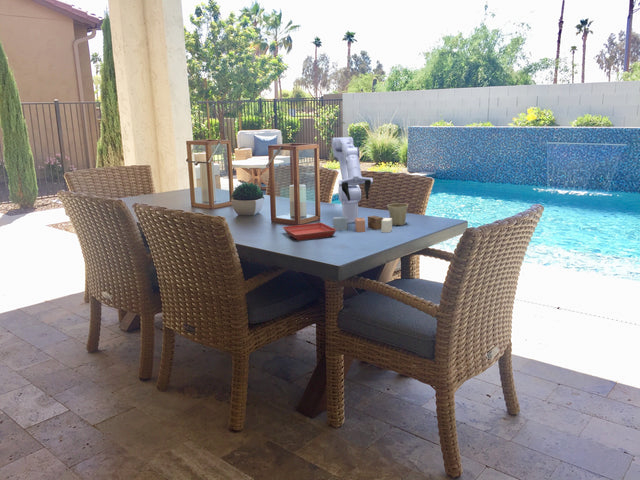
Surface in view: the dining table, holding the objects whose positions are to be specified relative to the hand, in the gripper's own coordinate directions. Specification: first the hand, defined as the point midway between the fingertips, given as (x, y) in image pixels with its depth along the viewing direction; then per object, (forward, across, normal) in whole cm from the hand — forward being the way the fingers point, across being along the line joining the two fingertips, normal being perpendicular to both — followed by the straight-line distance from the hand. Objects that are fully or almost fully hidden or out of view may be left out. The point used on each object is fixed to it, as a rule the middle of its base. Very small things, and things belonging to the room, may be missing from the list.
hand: (358, 198), depth 221 cm
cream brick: (+12, +11, +8) cm, 18 cm away
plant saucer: (+12, -22, +7) cm, 26 cm away
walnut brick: (+8, +7, +12) cm, 17 cm away
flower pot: (+5, +18, +17) cm, 26 cm away
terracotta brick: (+10, 0, +10) cm, 14 cm away
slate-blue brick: (+7, -8, +14) cm, 17 cm away
